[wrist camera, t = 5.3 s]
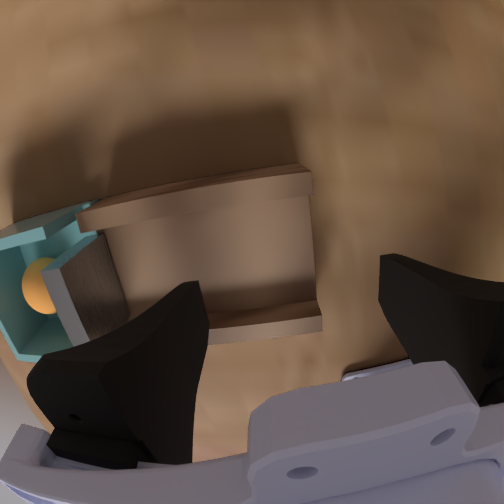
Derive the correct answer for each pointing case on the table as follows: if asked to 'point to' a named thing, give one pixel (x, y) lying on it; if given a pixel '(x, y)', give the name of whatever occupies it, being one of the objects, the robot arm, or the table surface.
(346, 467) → the robot arm
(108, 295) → the plunger
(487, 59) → the table surface
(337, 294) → the table surface
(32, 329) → the teal open box
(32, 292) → the ball
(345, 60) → the table surface
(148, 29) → the table surface
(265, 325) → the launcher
